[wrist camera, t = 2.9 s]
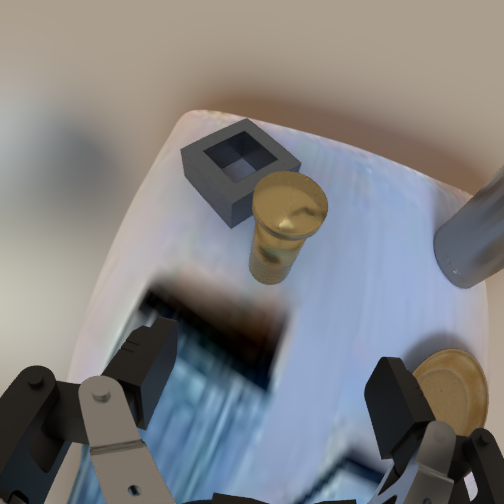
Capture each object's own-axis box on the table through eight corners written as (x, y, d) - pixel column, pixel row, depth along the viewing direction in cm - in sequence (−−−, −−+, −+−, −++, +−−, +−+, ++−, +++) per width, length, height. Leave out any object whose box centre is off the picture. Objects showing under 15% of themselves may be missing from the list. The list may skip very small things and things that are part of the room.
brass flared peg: (271, 234, 30) (292, 161, 20) (304, 269, 29) (342, 208, 19) (233, 261, 28) (237, 192, 18) (266, 299, 27) (289, 248, 17)
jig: (244, 144, 35) (247, 117, 31) (293, 188, 33) (301, 162, 29) (184, 176, 32) (180, 149, 28) (230, 228, 30) (231, 204, 26)
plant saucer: (385, 497, 18) (398, 503, 16) (368, 376, 24) (381, 374, 22) (478, 439, 21) (492, 440, 18) (463, 336, 27) (477, 331, 24)
